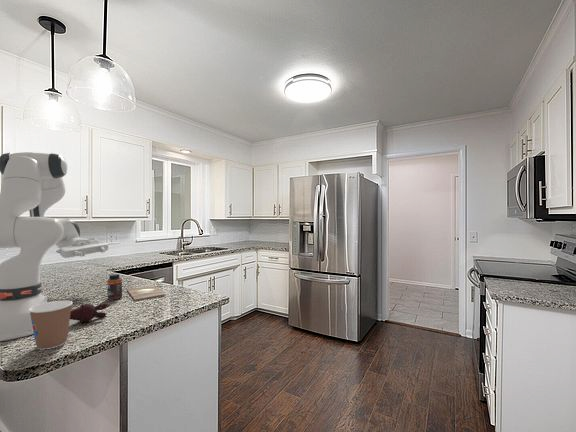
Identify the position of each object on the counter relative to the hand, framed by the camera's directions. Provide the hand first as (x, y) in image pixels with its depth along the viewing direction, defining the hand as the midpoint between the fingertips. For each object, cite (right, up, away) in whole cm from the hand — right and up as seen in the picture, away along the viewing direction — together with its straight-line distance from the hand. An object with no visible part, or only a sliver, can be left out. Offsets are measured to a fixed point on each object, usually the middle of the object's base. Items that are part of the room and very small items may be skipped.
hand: (93, 252), depth 139 cm
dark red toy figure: (+20, -21, -34) cm, 45 cm away
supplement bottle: (+14, -21, -5) cm, 26 cm away
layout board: (+24, -21, +3) cm, 32 cm away
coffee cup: (+23, -21, -52) cm, 61 cm away
